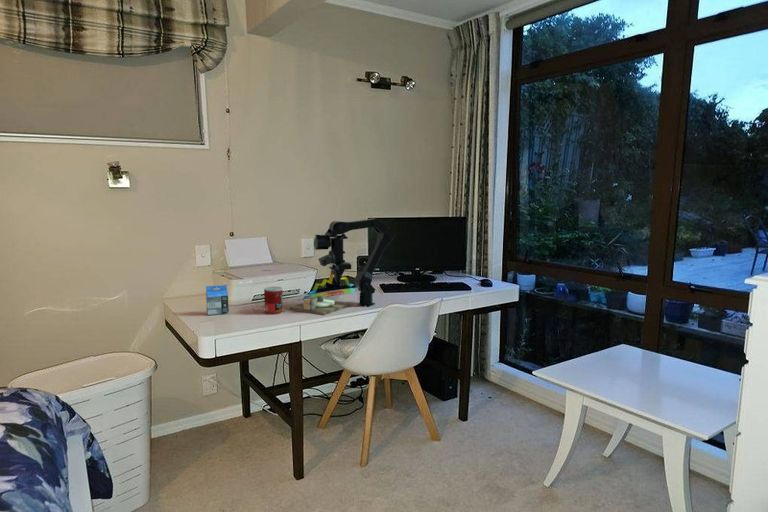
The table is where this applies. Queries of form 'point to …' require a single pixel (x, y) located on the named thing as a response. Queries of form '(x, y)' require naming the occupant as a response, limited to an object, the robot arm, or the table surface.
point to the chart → (332, 291)
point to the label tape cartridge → (217, 300)
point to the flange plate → (318, 302)
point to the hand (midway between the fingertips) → (337, 282)
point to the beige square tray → (322, 310)
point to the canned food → (273, 300)
